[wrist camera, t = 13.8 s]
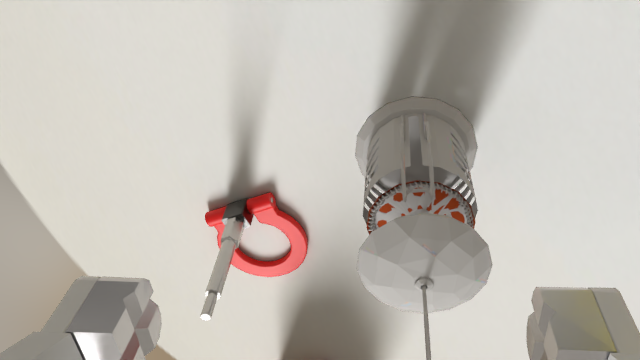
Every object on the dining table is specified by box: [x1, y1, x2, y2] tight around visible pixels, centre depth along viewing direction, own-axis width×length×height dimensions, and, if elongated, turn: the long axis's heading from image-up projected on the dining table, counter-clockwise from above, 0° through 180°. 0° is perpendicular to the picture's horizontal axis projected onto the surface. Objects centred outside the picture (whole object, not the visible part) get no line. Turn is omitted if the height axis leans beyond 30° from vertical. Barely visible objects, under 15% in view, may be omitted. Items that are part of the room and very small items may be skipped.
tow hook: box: [201, 192, 308, 320], centre depth 47 cm, size 8×13×9 cm
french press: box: [355, 97, 492, 360], centre depth 35 cm, size 10×12×25 cm
